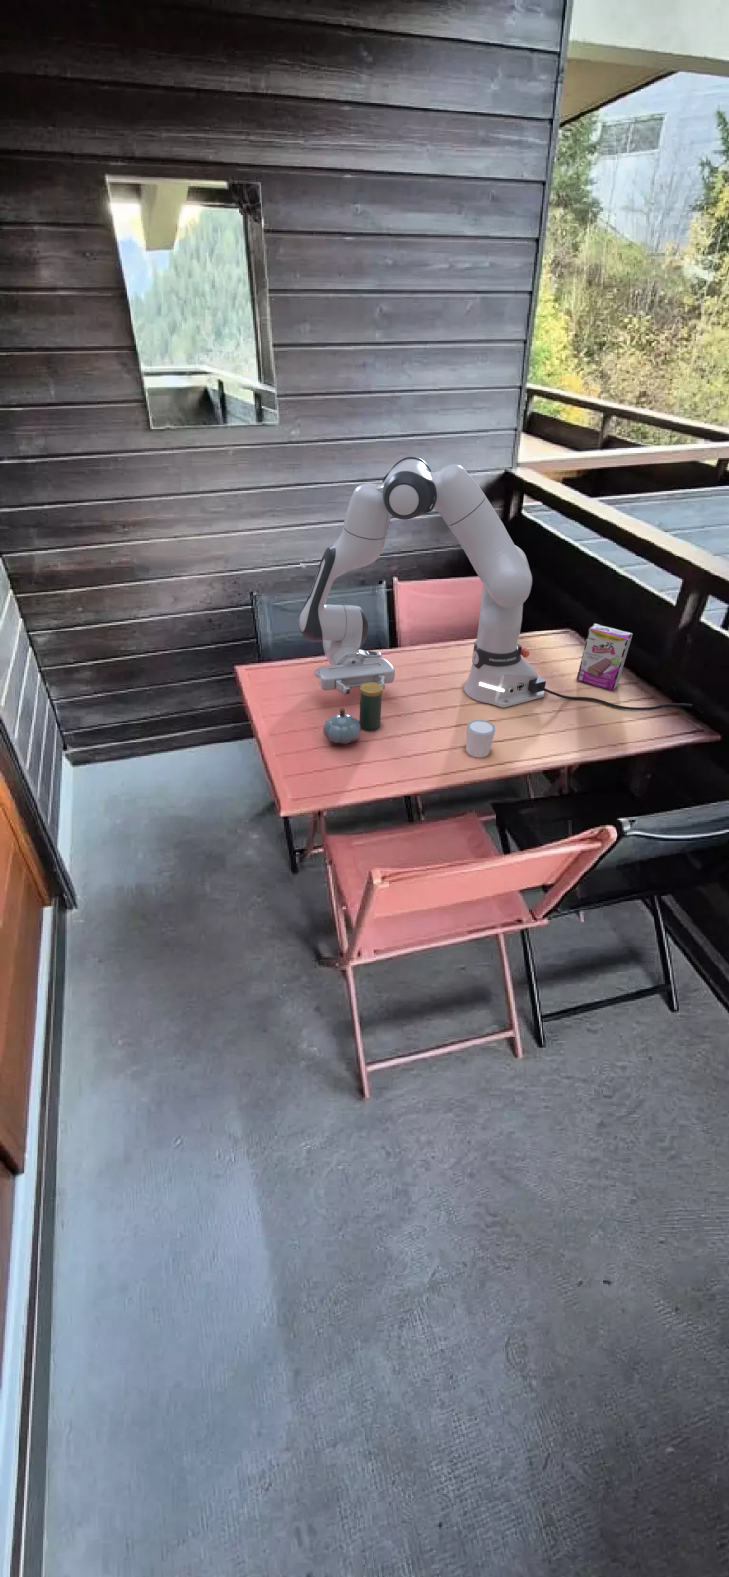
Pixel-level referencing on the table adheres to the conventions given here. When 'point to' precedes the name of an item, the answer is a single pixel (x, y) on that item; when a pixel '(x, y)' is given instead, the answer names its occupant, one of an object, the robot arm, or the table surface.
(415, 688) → the table surface
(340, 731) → the pumpkin
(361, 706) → the tea tin
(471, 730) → the white cup
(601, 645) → the candy bar box
